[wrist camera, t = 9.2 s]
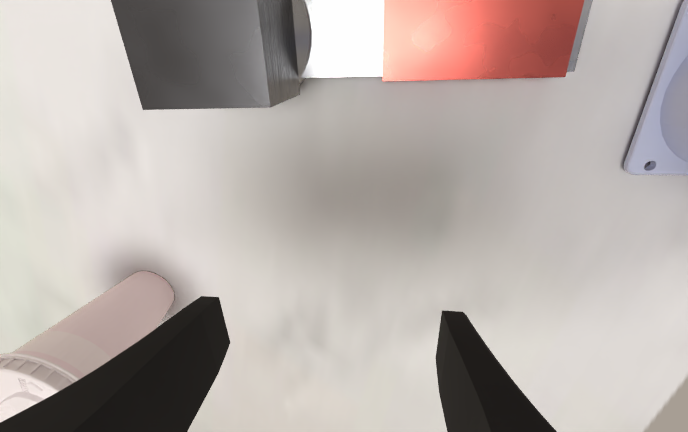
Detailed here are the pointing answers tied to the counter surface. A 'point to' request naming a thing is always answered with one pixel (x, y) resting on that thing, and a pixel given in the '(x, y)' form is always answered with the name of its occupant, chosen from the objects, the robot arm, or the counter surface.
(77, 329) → the smoothie
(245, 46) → the charcoal grey cube
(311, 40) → the ratchet
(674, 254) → the counter surface
